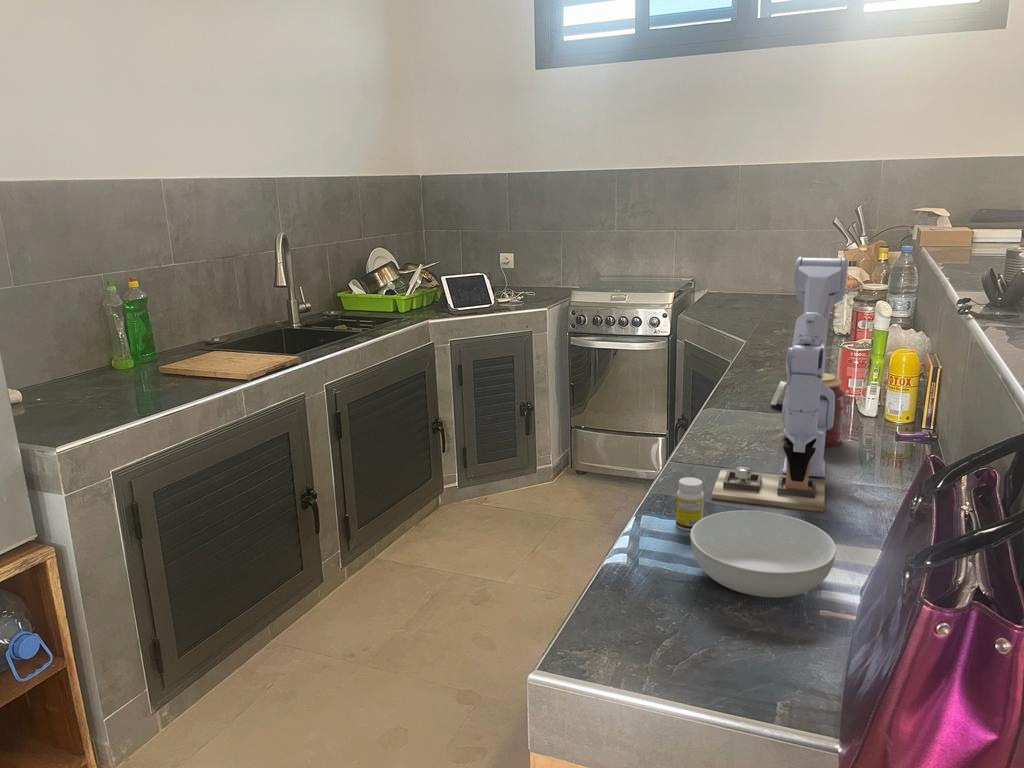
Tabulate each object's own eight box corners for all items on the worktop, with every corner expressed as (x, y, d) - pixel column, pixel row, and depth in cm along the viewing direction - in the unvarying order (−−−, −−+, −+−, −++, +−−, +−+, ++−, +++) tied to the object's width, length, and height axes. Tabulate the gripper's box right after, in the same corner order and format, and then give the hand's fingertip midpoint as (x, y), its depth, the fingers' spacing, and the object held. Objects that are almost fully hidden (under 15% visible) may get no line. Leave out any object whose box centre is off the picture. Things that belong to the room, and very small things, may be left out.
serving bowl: (661, 581, 119) (662, 539, 117) (733, 537, 133) (735, 499, 131) (791, 633, 104) (795, 586, 103) (856, 578, 118) (860, 536, 117)
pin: (735, 480, 156) (736, 466, 155) (751, 482, 155) (752, 467, 154) (733, 485, 153) (734, 471, 152) (749, 487, 152) (750, 472, 151)
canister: (842, 434, 186) (848, 362, 182) (839, 451, 175) (846, 374, 171) (785, 428, 192) (789, 358, 187) (778, 444, 180) (783, 369, 176)
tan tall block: (786, 481, 153) (788, 447, 151) (808, 483, 151) (810, 449, 150) (785, 488, 149) (787, 453, 147) (807, 491, 148) (810, 455, 146)
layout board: (720, 474, 162) (721, 464, 162) (824, 485, 155) (825, 474, 155) (711, 498, 150) (712, 487, 149) (823, 512, 142) (824, 500, 142)
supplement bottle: (683, 518, 141) (685, 474, 139) (707, 524, 138) (709, 480, 136) (670, 527, 137) (672, 482, 135) (695, 534, 134) (697, 488, 132)
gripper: (825, 420, 138) (819, 492, 142) (825, 400, 152) (820, 466, 155) (783, 417, 141) (778, 488, 144) (787, 397, 154) (782, 462, 157)
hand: (797, 476), depth 150 cm, fingers closed on tan tall block, 4 cm apart
